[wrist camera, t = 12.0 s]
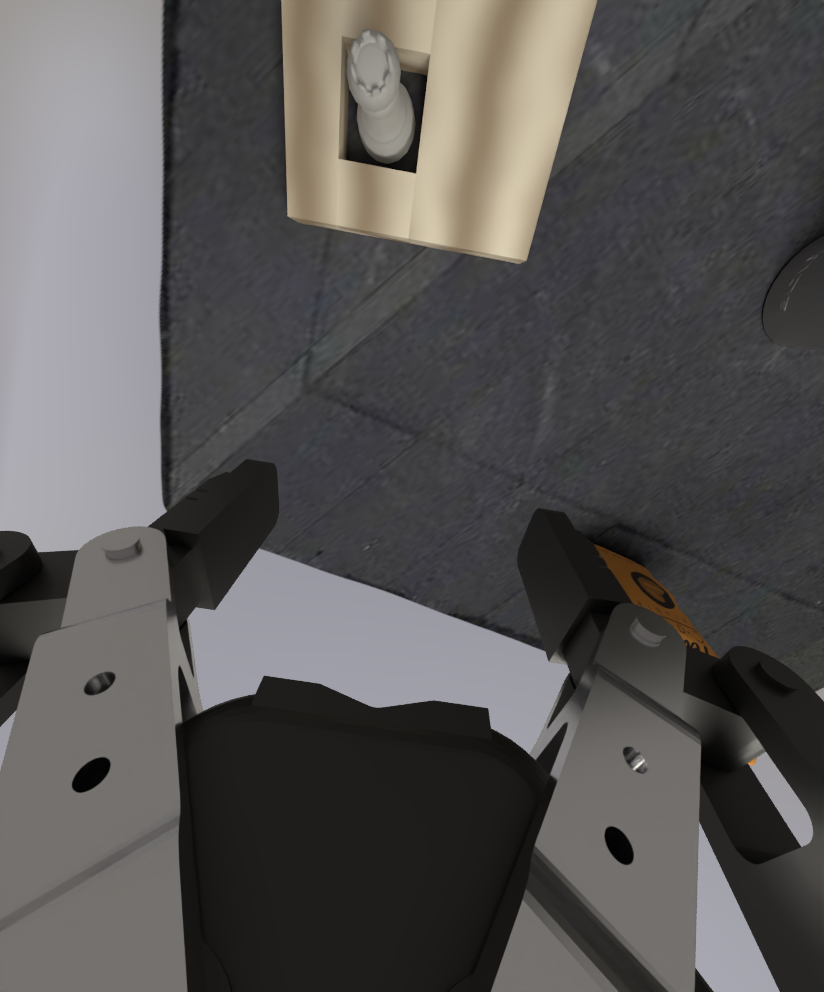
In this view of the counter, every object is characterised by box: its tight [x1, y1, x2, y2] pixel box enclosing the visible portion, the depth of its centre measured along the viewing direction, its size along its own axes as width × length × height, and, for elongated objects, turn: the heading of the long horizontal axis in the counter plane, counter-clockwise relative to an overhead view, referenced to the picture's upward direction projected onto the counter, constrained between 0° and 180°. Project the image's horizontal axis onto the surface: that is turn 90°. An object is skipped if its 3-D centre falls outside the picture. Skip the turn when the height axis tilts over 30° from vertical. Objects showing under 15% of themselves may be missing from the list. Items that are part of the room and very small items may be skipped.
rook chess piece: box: [346, 28, 416, 164], centre depth 22 cm, size 4×4×8 cm
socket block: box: [281, 0, 597, 264], centre depth 25 cm, size 20×14×2 cm
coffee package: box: [594, 544, 756, 765], centre depth 38 cm, size 10×12×22 cm
